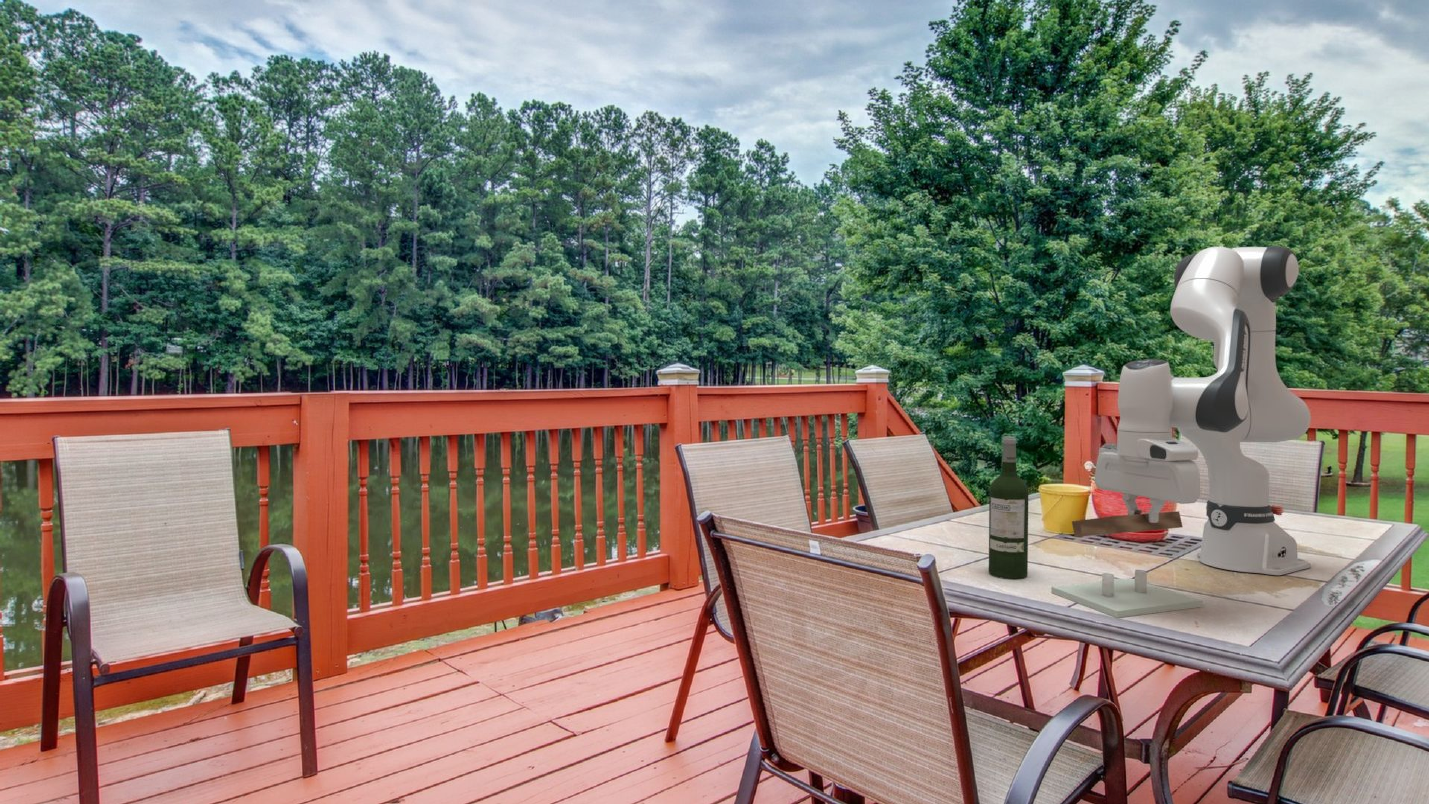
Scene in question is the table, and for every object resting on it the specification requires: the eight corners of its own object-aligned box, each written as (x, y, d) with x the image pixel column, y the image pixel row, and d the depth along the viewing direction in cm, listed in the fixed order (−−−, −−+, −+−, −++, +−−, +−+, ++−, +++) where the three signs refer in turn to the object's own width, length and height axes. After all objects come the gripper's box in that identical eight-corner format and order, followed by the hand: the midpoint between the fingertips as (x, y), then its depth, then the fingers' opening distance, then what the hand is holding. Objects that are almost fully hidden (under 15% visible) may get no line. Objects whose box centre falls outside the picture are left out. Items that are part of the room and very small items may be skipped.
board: (1130, 583, 153) (1130, 558, 153) (1201, 606, 138) (1202, 579, 138) (1051, 592, 147) (1051, 566, 147) (1117, 617, 132) (1117, 589, 132)
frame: (1139, 531, 148) (1136, 516, 149) (1182, 527, 139) (1179, 511, 140) (1074, 536, 144) (1071, 521, 144) (1115, 532, 134) (1111, 516, 135)
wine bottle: (990, 578, 158) (991, 438, 157) (987, 568, 166) (988, 435, 165) (1030, 580, 156) (1031, 438, 155) (1025, 570, 164) (1026, 435, 163)
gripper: (1087, 442, 147) (1086, 511, 147) (1179, 452, 127) (1178, 532, 128) (1112, 441, 149) (1111, 509, 149) (1207, 451, 129) (1205, 529, 130)
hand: (1142, 520), depth 138 cm, fingers closed on frame, 2 cm apart
